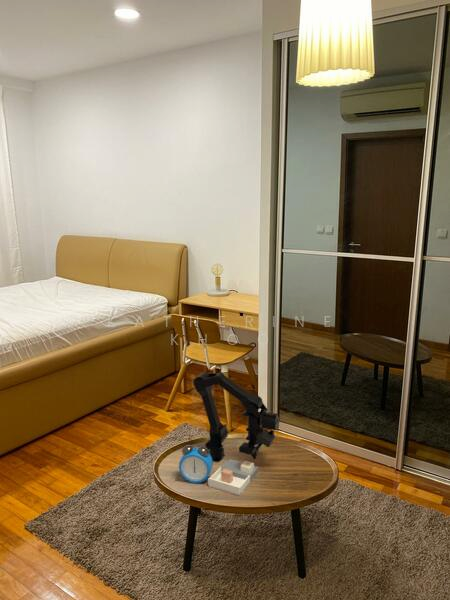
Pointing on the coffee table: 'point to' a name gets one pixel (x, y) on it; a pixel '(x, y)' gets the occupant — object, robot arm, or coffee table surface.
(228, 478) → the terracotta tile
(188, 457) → the alarm clock
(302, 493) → the coffee table surface
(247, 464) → the cream block
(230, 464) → the slate plate
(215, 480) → the tray
